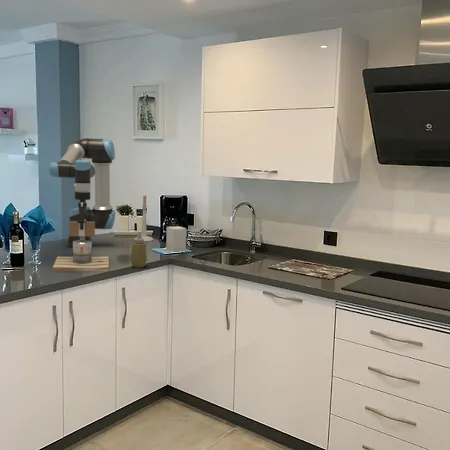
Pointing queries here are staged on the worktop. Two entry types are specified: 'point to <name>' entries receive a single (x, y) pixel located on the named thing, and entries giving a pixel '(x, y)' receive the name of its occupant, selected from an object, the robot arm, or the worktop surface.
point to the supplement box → (176, 239)
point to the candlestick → (144, 223)
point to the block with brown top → (82, 238)
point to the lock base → (81, 264)
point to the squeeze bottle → (138, 252)
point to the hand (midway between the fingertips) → (82, 233)
